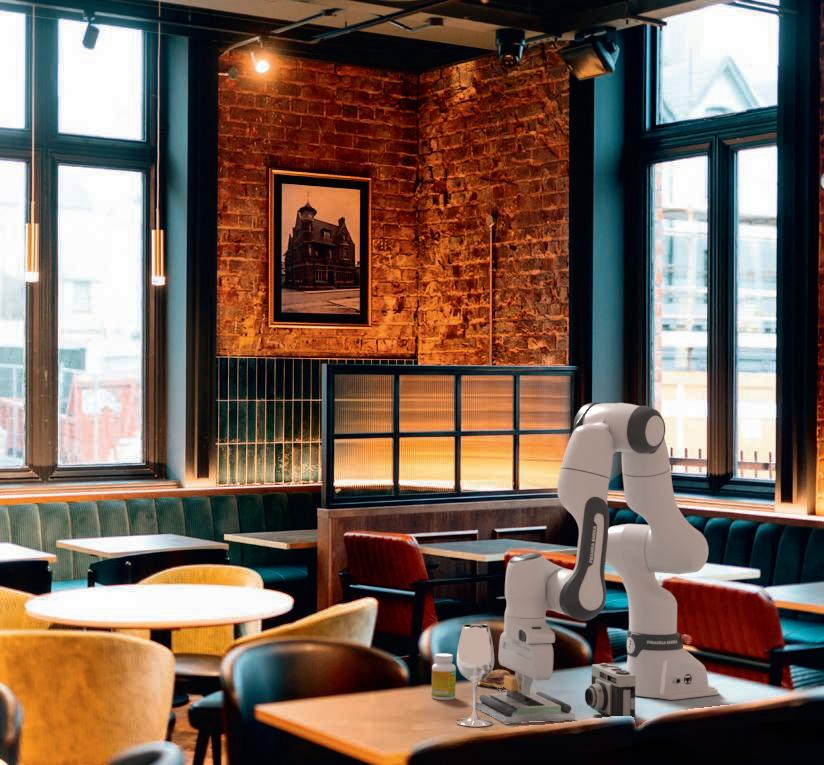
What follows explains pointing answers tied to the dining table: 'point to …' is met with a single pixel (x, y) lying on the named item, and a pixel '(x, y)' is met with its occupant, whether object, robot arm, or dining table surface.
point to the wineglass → (475, 664)
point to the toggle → (513, 688)
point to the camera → (611, 690)
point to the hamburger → (495, 679)
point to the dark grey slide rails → (509, 711)
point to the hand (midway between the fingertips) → (523, 694)
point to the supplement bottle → (443, 677)
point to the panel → (526, 709)
